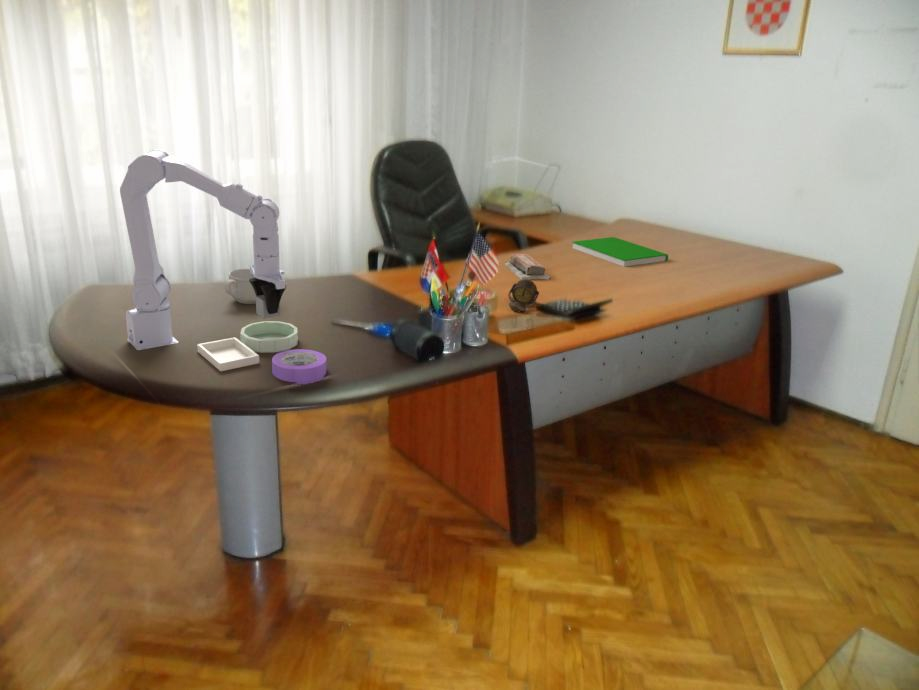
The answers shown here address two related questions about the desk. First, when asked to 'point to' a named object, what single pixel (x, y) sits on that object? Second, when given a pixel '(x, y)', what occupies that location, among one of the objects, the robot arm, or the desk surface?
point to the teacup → (241, 286)
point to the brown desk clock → (523, 295)
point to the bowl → (269, 336)
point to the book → (619, 251)
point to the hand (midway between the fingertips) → (268, 310)
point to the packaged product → (526, 267)
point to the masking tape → (302, 374)
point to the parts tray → (228, 354)
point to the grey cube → (264, 308)
